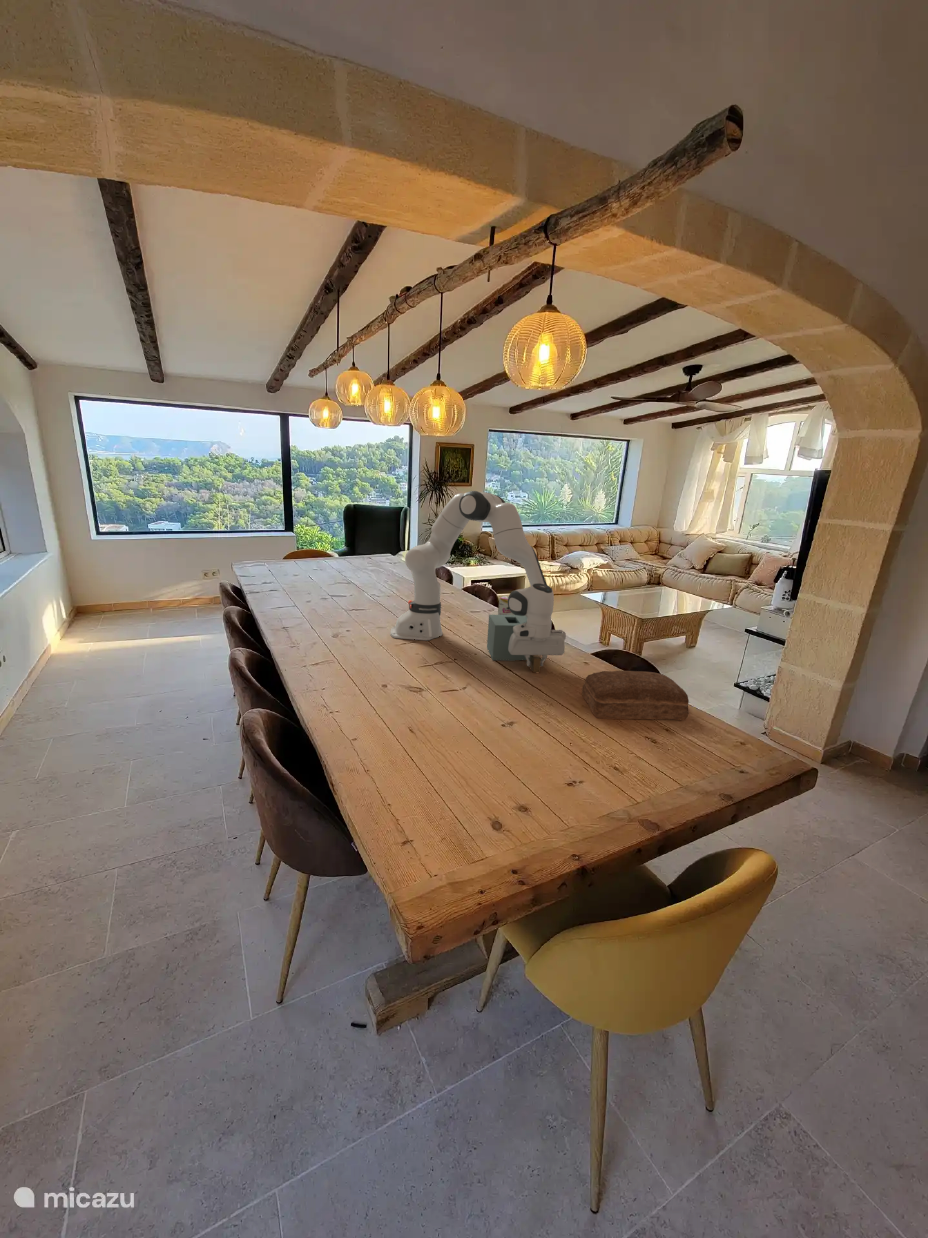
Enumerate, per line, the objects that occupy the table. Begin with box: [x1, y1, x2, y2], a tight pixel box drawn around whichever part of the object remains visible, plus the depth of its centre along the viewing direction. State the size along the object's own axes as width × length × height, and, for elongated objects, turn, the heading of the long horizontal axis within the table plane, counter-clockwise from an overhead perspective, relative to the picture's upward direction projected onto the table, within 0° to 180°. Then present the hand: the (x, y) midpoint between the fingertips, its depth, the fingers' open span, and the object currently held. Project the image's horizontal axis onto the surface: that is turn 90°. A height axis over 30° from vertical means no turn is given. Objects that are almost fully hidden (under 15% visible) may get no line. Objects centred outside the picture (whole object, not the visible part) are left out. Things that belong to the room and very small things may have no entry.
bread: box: [581, 670, 690, 721], centre depth 152 cm, size 17×29×11 cm, turn 92°
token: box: [528, 655, 542, 673], centre depth 178 cm, size 2×6×6 cm, turn 7°
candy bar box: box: [497, 595, 514, 615], centre depth 215 cm, size 11×5×16 cm, turn 58°
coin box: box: [486, 614, 530, 661], centre depth 192 cm, size 16×14×14 cm
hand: (534, 665), depth 179 cm, fingers open, 3 cm apart
